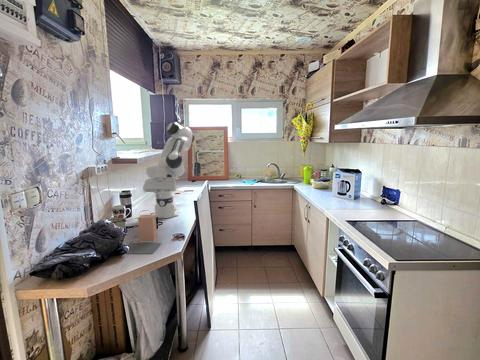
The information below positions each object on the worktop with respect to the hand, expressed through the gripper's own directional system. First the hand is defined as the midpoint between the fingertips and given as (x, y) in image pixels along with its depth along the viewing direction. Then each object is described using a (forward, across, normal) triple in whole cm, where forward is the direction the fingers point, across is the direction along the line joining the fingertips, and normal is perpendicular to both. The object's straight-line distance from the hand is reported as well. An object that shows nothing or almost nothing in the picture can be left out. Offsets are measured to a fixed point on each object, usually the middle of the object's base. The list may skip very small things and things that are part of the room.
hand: (157, 196), depth 159 cm
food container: (+22, -24, +9) cm, 34 cm away
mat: (+34, -2, -5) cm, 35 cm away
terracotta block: (+27, -2, +3) cm, 27 cm away
